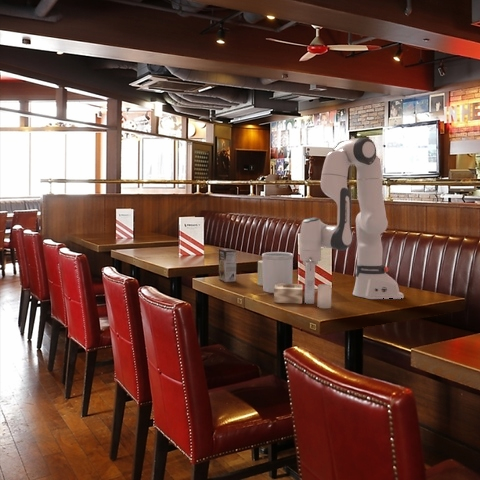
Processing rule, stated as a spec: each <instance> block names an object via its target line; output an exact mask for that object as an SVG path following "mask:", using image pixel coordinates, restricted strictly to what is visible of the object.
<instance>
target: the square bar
mask: <svg viewBox="0 0 480 480" xmlns="http://www.w3.org/2000/svg"><path fill="white" fill-rule="evenodd" d="M304 276H305V277H304V304H305V303H306V305H307V304H308V305H309V304H310V305H312V304H315V289H316V287H315V285H316V281H315V280H316V279H315V280H314V282H312V290H308V284H307V281H306V273H305V274H304Z"/></svg>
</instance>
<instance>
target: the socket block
mask: <svg viewBox="0 0 480 480" xmlns="http://www.w3.org/2000/svg"><path fill="white" fill-rule="evenodd" d="M303 287H304V286H303V284H302V283H292V284H279V283H276V284H275V287H274V293H273V303H280V304H281V303H284V304H303V289H304V288H303Z"/></svg>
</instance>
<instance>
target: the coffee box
mask: <svg viewBox="0 0 480 480" xmlns="http://www.w3.org/2000/svg"><path fill="white" fill-rule="evenodd" d="M218 280H221V281H222V282H225V283H231V282H232V283H233V282H236V281H237V250H235V249H233V248H218Z"/></svg>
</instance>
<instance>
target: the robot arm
mask: <svg viewBox="0 0 480 480" xmlns="http://www.w3.org/2000/svg"><path fill="white" fill-rule="evenodd" d="M351 165H353V166H354V167H356V168H355V169H356V187H357V188H356V191H357V199H358V204H359V212H358V213H357V215H356V217H355V228H356V229H355V230H356V231H355V232H356V241H357V243H356V244H357V259H356V263H355V265H356V266H355V276H356V277H355V284H354V287H353V292H352V295H353V296H354V297H355V296H356V297H359V298H365V299H367V300H390V299H389V298H393V299H392V300H401V298H402V299H404V298H405V296H404V293H403V292H400V289H399V284H398V282H397V280H395V279H394V278H393V277H391V276H390V275H389V274H388V272H389V270H390V269H389V267H388V266H385V265H384V264H383V252H384V250H383V249H384V247H383V242H382V238H381V237H382V236H381V234H383V233H384V232H385V231H387V228H388V227H389V225H388V224H389V221H388V219H387V213H386V207H385V202H384V194H383V193H384V192H383V190H384V189H383V188H384V187H383V173H382V172H383V171H382V166H381V161H380V158H379V156H378V155H377V147H376V145H375V142H374V141H373V140H372V139H370V138H368V137H359V138H357V137H356V138H355V137H354V138H350V139H346V140H341V141H340V142H338V143H336V144H335V145H334V147H333V148H332V151H329V152H328V153H327V154H326V157H325V159H324V162H323V165H322V170H321V177H320V188H321V191H322V192H323V193H324V195H326V196H327V197H328V198H330V199H332V200H333V201H334V202H335V203H336V206H337V207H336V208H337V217H336V219H337V221H336V222H337V224H336V225H329V224H326V223H324V222H323V221H322V220H321V219H320V218H319V217H308V218H305V219H303V220H302V222H301V225H300V233H299V234H300V237H299V239H300V248H299V261H300V262H302V265H303V266H304V270H305V271H304V272H305V274H306V281H307V284H308V290H312V282H314V280H316V266H317V265H319V262H321V260H322V248H327V249H334V250H337V251H341V252H343V251H345V250H347V249H348V248H349V247H350V246H351V245H352V242H353V232H352V194H351V191H350V190H349V188H348V175H349V174H348V173H349V167H350V166H351ZM383 298H384V299H383Z"/></svg>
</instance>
